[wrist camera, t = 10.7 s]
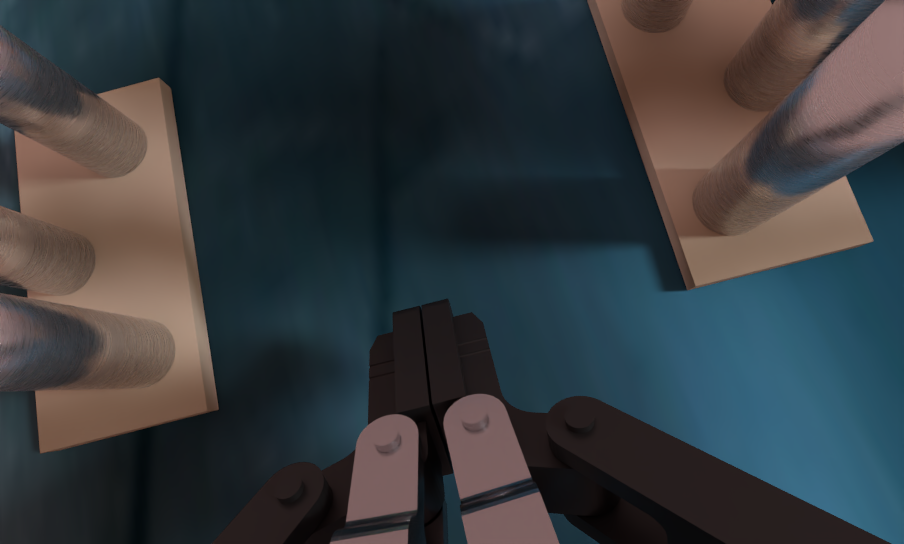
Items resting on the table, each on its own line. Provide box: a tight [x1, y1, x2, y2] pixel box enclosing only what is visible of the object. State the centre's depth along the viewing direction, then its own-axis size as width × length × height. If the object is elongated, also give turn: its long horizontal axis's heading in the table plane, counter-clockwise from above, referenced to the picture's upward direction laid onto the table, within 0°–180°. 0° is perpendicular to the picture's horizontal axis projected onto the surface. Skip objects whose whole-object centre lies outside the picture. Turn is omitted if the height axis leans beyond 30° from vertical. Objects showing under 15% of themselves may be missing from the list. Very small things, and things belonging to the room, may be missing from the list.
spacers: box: [0, 0, 904, 392], centre depth 15 cm, size 10×28×9 cm, turn 104°
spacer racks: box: [14, 0, 873, 453], centre depth 20 cm, size 13×29×1 cm, turn 104°
